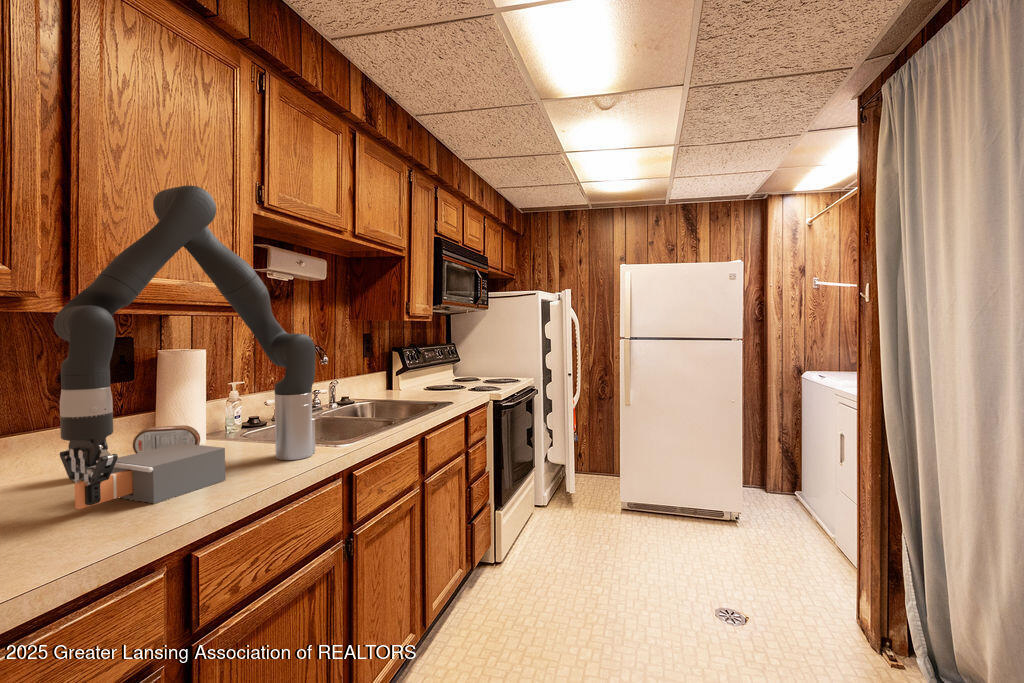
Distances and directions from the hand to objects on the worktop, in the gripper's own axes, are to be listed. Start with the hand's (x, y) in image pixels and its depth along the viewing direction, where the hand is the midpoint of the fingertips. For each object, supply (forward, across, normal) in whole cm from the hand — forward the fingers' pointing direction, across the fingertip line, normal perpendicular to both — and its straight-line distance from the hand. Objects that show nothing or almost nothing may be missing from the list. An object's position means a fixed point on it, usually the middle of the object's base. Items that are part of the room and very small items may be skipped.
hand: (89, 502), depth 93 cm
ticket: (0, 0, -7) cm, 7 cm away
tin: (+2, +26, -33) cm, 42 cm away
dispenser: (+2, 0, -15) cm, 15 cm away
